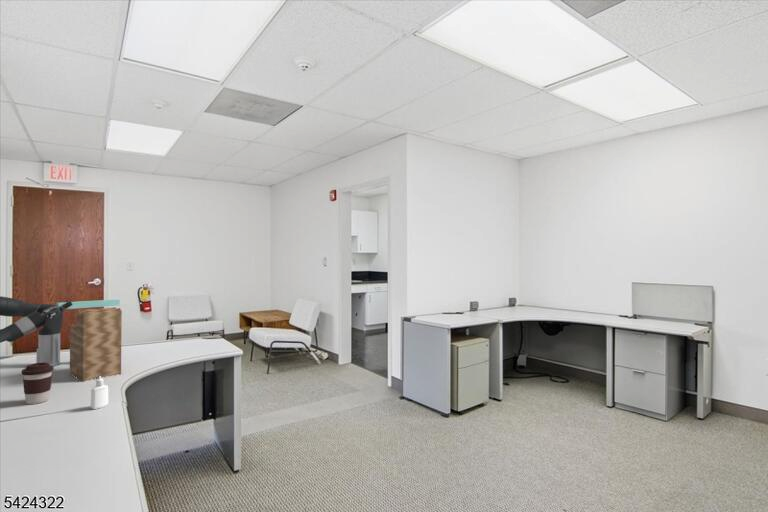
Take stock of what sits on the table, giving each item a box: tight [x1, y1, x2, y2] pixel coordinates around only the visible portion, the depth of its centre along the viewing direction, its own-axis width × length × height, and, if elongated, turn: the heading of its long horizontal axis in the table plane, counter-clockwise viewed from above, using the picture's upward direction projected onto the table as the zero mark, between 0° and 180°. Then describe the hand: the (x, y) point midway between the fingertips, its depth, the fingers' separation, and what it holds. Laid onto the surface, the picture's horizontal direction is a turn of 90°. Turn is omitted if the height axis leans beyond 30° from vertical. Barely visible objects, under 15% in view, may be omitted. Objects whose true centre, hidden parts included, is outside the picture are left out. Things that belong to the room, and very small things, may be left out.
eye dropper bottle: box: [90, 376, 109, 410], centre depth 159 cm, size 4×6×12 cm
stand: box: [69, 306, 123, 382], centre depth 205 cm, size 16×20×33 cm
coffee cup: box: [21, 363, 55, 405], centre depth 165 cm, size 10×10×15 cm
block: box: [55, 299, 121, 310], centre depth 207 cm, size 26×4×3 cm, turn 142°
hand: (69, 302), depth 201 cm, fingers closed on block, 4 cm apart
